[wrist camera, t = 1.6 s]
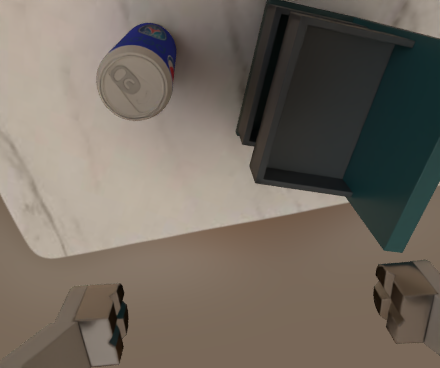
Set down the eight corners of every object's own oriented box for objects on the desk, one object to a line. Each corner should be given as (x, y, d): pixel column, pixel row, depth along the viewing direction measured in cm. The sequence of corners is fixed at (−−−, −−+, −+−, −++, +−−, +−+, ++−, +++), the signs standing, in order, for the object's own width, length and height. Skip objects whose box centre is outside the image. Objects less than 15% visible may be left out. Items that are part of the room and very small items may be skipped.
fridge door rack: (235, 131, 44) (268, 236, 27) (267, -3, 38) (338, 17, 20) (328, 147, 46) (417, 255, 28) (374, 21, 40) (523, 59, 22)
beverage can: (187, 51, 40) (188, 90, 26) (151, 86, 41) (134, 139, 28) (150, 10, 38) (131, 29, 24) (113, 47, 39) (76, 85, 26)
